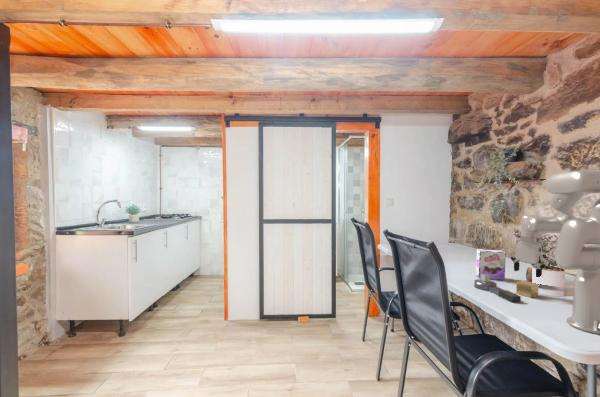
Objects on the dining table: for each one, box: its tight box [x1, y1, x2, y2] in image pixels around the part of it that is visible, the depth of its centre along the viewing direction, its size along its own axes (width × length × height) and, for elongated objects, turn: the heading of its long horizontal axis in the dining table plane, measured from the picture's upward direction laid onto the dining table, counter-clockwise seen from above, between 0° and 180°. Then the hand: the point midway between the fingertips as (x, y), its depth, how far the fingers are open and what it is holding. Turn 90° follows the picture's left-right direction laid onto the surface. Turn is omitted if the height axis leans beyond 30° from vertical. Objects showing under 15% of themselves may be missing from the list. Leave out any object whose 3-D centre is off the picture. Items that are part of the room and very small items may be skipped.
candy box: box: [474, 248, 507, 281], centre depth 177 cm, size 14×6×16 cm, turn 76°
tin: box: [525, 267, 533, 282], centre depth 167 cm, size 15×3×8 cm, turn 160°
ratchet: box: [474, 274, 522, 303], centre depth 151 cm, size 25×10×7 cm, turn 6°
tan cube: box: [515, 280, 539, 299], centre depth 149 cm, size 6×6×6 cm
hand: (527, 273), depth 149 cm, fingers open, 9 cm apart
